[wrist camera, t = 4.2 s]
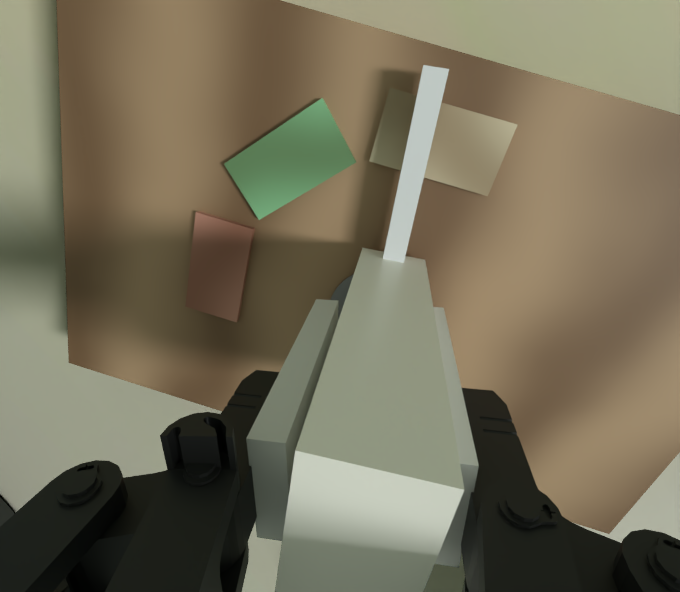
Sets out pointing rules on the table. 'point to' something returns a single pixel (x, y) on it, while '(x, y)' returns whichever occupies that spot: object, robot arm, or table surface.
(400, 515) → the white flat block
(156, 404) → the table surface
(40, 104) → the table surface
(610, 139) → the wooden cutting board
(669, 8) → the table surface
